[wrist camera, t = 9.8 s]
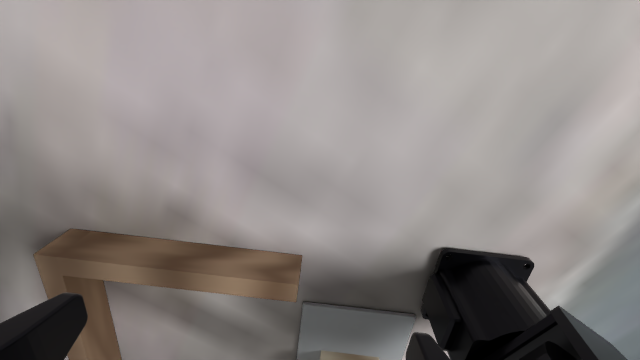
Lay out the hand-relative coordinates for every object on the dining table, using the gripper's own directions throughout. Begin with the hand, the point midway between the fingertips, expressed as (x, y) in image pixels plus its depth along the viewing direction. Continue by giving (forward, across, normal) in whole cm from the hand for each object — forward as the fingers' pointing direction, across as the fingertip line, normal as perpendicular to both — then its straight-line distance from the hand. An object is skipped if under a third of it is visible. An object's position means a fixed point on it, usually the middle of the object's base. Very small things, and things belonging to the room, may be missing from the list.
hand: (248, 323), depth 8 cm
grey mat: (+12, -6, +19) cm, 23 cm away
